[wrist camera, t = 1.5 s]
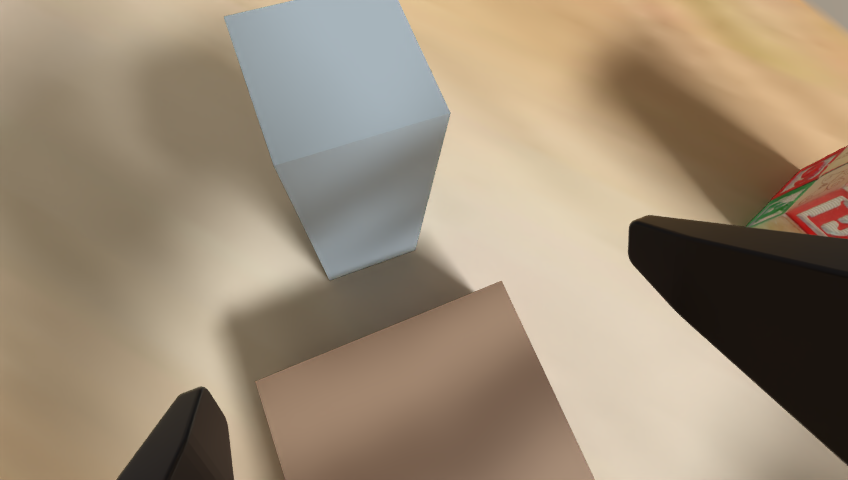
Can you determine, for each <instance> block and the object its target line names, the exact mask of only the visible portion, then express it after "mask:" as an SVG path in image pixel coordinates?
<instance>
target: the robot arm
mask: <svg viewBox="0 0 848 480" xmlns="http://www.w3.org/2000/svg"><path fill="white" fill-rule="evenodd" d="M628 255H629V259H630V261H631V263H632V264H633V265H634V266H635V268H636V269H637V270H638V271H639V272H640V273H641V274H642V275H643V276H644V277H645V278H646V280H647V281H648V282H649V283H650V284H651V285H652V286H653V287H654V288H655V289H656V290H657V292H658V293H659V294H660V295H661V296H662V297H663V298H664V299H665V300H666V301H667V302H668V303H669V305H670V306H671V307H672V308H673V309H674V310H675V311H676V312H677V313H678V314H679V315H680V316H681V317H682V318H683V319H684V320H686V321H687V322H688V323H689V324H690V325H691V326H692V327H693V328H694V329H695V330H697V331H698V332H699V333H700V334H701V335H702V336H703V337H704V338H706V339H707V340H708V341H709V342H710V343H711V344H712V345H713V346H714V347H716V348H717V349H718V350H719V351H720V352H721V353H722V354H723V355H725V356H726V357H727V358H728V359H729V360H730V361H731V362H732V363H733V364H735V365H736V366H737V367H738V368H739V369H740V370H741V371H742V372H744V373H745V374H746V375H747V376H748V377H749V378H750V379H751V380H752V381H754V382H755V383H756V384H757V385H758V386H759V387H760V388H761V389H763V390H764V391H765V392H766V393H767V394H768V395H769V396H770V397H771V398H773V399H774V400H775V401H776V402H777V403H778V404H779V405H780V406H782V407H783V408H784V409H785V410H786V411H787V412H788V413H789V414H790V415H792V416H793V417H794V418H795V419H796V420H797V421H798V422H799V423H801V424H802V425H803V426H804V427H805V428H806V429H807V430H808V431H809V432H811V433H812V434H813V435H814V436H815V437H816V438H817V439H818V440H820V441H821V442H822V443H823V444H824V445H825V446H826V447H827V448H828V449H830V450H831V451H832V452H833V453H834V454H835V455H836V456H837V457H839V458H840V459H841V460H842V461H843V462H844V463H845V464H846V465H847V466H848V239H844V238H835V237H827V236H819V235H810V234H802V233H794V232H785V231H777V230H769V229H761V228H752V227H744V226H736V225H727V224H719V223H711V222H702V221H694V220H686V219H677V218H669V217H661V216H653V215H648V216H644V217H642V218H639V219H636V220H634V221H632V222H631V224H630V226H629V239H628ZM116 480H234V476H233V467H232V458H231V449H230V440H229V431H228V425H227V421H226V418H225V416H224V414H223V413H222V411H221V409H220V408H219V406H218V405H217V403H216V402H215V400H214V398H213V397H212V395H211V394H210V392H209V391H208V390H207V389H206V388H205V387H198V388H195V389H193V390H190V391H187V392H185V393H182V394H180V395H179V396H178V397H177V398H176V400H175V401H174V402H173V404H172V405H171V406H170V408H169V409H168V411H167V412H166V413H165V415H164V416H163V417H162V419H161V420H160V421H159V423H158V424H157V425H156V427H155V428H154V429H153V431H152V432H151V433H150V435H149V436H148V438H147V439H146V440H145V442H144V443H143V444H142V446H141V447H140V448H139V450H138V451H137V452H136V454H135V455H134V456H133V458H132V459H131V460H130V462H129V463H128V465H127V466H126V467H125V469H124V470H123V471H122V473H121V474H120V475H119V477H118V478H117V479H116Z"/></svg>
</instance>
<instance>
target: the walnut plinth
mask: <svg viewBox="0 0 848 480" xmlns="http://www.w3.org/2000/svg"><path fill="white" fill-rule="evenodd" d="M255 382H256V386H257V389H258V392H259V396H260V399H261V402H262V405H263V409H264V412H265V415H266V419H267V422H268V425H269V428H270V432H271V435H272V438H273V442H274V445H275V448H276V451H277V455H278V458H279V461H280V465H281V468H282V471H283V474H284V478H285V480H595V479H594V477H593V475H592V473H591V471H590V469H589V466H588V464H587V462H586V460H585V458H584V456H583V454H582V451H581V449H580V447H579V445H578V443H577V441H576V439H575V436H574V434H573V432H572V430H571V428H570V426H569V424H568V422H567V419H566V417H565V415H564V413H563V411H562V409H561V407H560V404H559V402H558V400H557V398H556V396H555V394H554V392H553V390H552V387H551V385H550V383H549V381H548V379H547V377H546V375H545V372H544V370H543V368H542V366H541V364H540V362H539V360H538V358H537V355H536V353H535V351H534V349H533V347H532V345H531V343H530V340H529V338H528V336H527V334H526V332H525V330H524V328H523V325H522V323H521V321H520V319H519V317H518V315H517V313H516V311H515V308H514V306H513V304H512V302H511V300H510V298H509V296H508V293H507V291H506V289H505V287H504V285H503V283H502V281H500V282H497V283H495V284H492V285H490V286H487V287H485V288H483V289H480V290H478V291H475V292H473V293H470V294H468V295H465V296H463V297H460V298H458V299H456V300H453V301H451V302H448V303H446V304H443V305H441V306H438V307H436V308H433V309H431V310H429V311H426V312H424V313H421V314H419V315H416V316H414V317H411V318H409V319H406V320H404V321H402V322H399V323H397V324H394V325H392V326H389V327H387V328H384V329H382V330H379V331H377V332H375V333H372V334H370V335H367V336H365V337H362V338H360V339H357V340H355V341H353V342H350V343H348V344H345V345H343V346H340V347H338V348H335V349H333V350H330V351H328V352H326V353H323V354H321V355H318V356H316V357H313V358H311V359H308V360H306V361H303V362H301V363H299V364H296V365H294V366H291V367H289V368H286V369H284V370H281V371H279V372H276V373H274V374H272V375H269V376H267V377H264V378H262V379H259V380H257V381H255Z"/></svg>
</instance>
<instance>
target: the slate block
mask: <svg viewBox="0 0 848 480" xmlns="http://www.w3.org/2000/svg"><path fill="white" fill-rule="evenodd" d="M224 19H225V22H226V25H227V28H228V31H229V34H230V37H231V40H232V43H233V46H234V49H235V52H236V55H237V58H238V61H239V64H240V67H241V70H242V73H243V76H244V79H245V82H246V85H247V88H248V91H249V94H250V97H251V100H252V102H253V105H254V108H255V111H256V114H257V117H258V120H259V123H260V126H261V129H262V132H263V135H264V138H265V141H266V144H267V147H268V150H269V153H270V156H271V159H272V162H273V165H274V167H275V169H276V172H277V174H278V176H279V178H280V180H281V182H282V184H283V186H284V188H285V190H286V192H287V194H288V196H289V198H290V200H291V202H292V204H293V206H294V208H295V211H296V213H297V215H298V217H299V219H300V221H301V223H302V225H303V227H304V229H305V231H306V233H307V235H308V237H309V239H310V241H311V243H312V245H313V247H314V250H315V252H316V254H317V256H318V258H319V260H320V262H321V264H322V266H323V268H324V270H325V272H326V274H327V276H328V278H329V280H333V279H336V278H338V277H341V276H344V275H347V274H350V273H352V272H355V271H358V270H361V269H364V268H366V267H369V266H372V265H375V264H378V263H380V262H383V261H386V260H389V259H392V258H394V257H397V256H400V255H403V254H406V253H408V252H411V251H414V250H415V249H416V245H417V241H418V237H419V234H420V230H421V226H422V222H423V218H424V214H425V210H426V206H427V202H428V199H429V195H430V191H431V187H432V183H433V179H434V175H435V171H436V167H437V164H438V160H439V156H440V152H441V148H442V144H443V140H444V136H445V132H446V129H447V125H448V121H449V117H450V111H449V109H448V107H447V104H446V102H445V100H444V98H443V96H442V94H441V92H440V89H439V87H438V85H437V83H436V81H435V79H434V76H433V74H432V72H431V70H430V68H429V66H428V64H427V61H426V59H425V57H424V55H423V53H422V51H421V48H420V46H419V44H418V42H417V40H416V38H415V36H414V33H413V31H412V29H411V27H410V25H409V23H408V20H407V18H406V16H405V14H404V12H403V10H402V8H401V5H400V3H399V1H398V0H293V1H289V2H285V3H280V4H276V5H272V6H267V7H263V8H259V9H254V10H250V11H246V12H241V13H237V14H233V15H228V16H224Z"/></svg>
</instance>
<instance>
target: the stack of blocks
mask: <svg viewBox="0 0 848 480" xmlns="http://www.w3.org/2000/svg"><path fill="white" fill-rule="evenodd" d="M746 227H752V228H761V229H769V230H777V231H785V232H794V233H802V234H810V235H819V236H827V237H835V238H844V239H848V146H846V147H844V148H841V149H839V150H838V151H836V152H834V153H832V154H830V155H828V156H826V157H824V158H823V159H821V160H819V161H817V162H815V163H813V164H811V165H809V166H807V167H805V168H803V169H801V170H800V171H799V172H797V174H796V175H795V176H794V177H793V178H792V179H791V180H790V181H789V182H788V183H787V184H786V185H785V186H784V187H783V188H782V189H781V190H780V191H779V192H778V193H777V194H776V195H775V196H774V197H773V198H772V199H771V201H770V202H769V203H768V204H767V205H766V206H765V207H764V208H763V209H762V210H761V211H760V212H759V213H758V214H757V215H756V216H755V217H754V218H753V219H752V220H751V221H750V222H749V223H748V224H747V226H746Z"/></svg>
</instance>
